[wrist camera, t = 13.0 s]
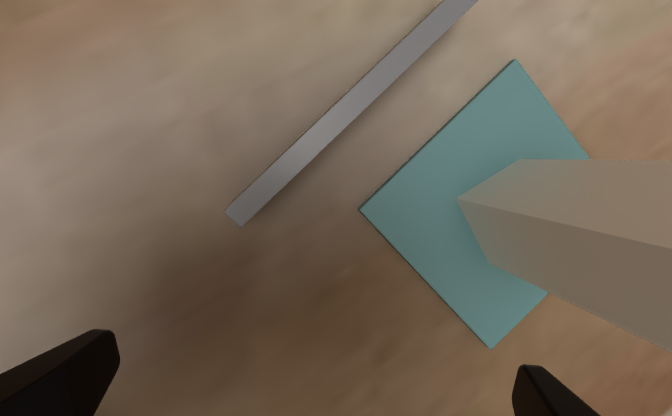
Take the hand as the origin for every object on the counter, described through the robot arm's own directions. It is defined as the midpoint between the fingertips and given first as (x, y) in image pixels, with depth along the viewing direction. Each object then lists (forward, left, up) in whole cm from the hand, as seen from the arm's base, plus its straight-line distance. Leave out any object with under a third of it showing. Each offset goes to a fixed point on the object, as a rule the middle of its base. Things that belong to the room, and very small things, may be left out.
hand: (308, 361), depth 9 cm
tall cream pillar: (+10, -8, -12) cm, 18 cm away
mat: (+10, -8, -13) cm, 18 cm away
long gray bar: (+7, +3, -13) cm, 15 cm away
